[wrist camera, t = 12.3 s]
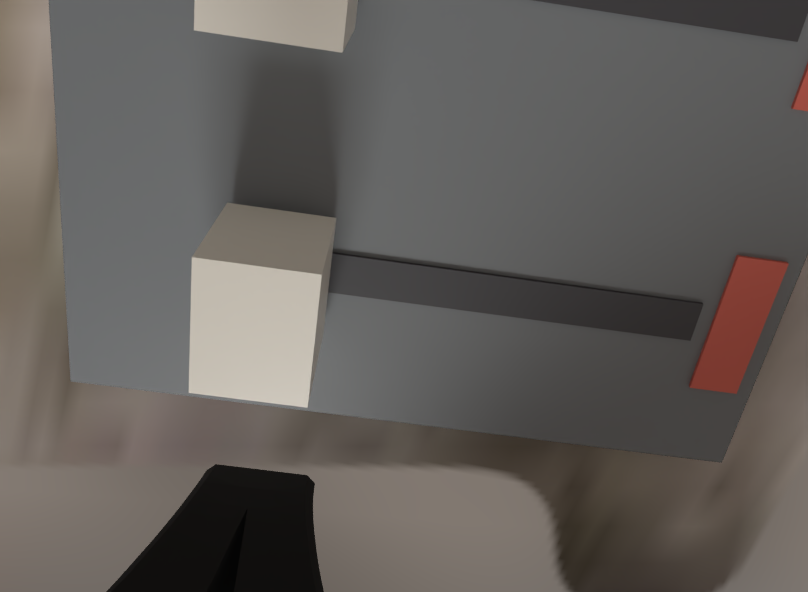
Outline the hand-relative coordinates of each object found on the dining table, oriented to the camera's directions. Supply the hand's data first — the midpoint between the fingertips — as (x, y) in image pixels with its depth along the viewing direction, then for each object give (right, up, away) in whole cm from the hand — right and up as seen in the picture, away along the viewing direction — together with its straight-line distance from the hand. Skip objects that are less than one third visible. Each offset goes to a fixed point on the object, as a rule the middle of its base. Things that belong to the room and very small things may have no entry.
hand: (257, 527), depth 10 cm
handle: (-1, +4, +7) cm, 8 cm away
